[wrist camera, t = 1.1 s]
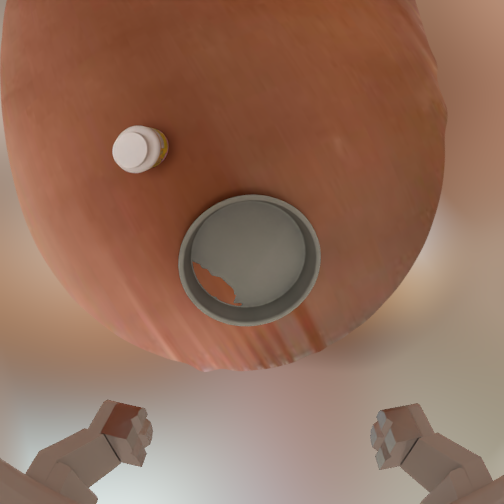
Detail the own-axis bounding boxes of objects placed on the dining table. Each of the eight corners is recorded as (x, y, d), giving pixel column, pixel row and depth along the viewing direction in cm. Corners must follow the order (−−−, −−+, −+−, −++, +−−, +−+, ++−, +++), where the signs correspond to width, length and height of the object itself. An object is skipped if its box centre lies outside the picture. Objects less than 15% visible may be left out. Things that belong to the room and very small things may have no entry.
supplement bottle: (139, 173, 45) (116, 185, 33) (125, 139, 42) (97, 139, 30) (175, 157, 45) (162, 162, 33) (161, 121, 42) (143, 114, 30)
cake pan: (180, 187, 47) (177, 192, 43) (321, 195, 51) (330, 200, 46) (182, 313, 56) (181, 326, 52) (302, 312, 59) (309, 325, 55)
